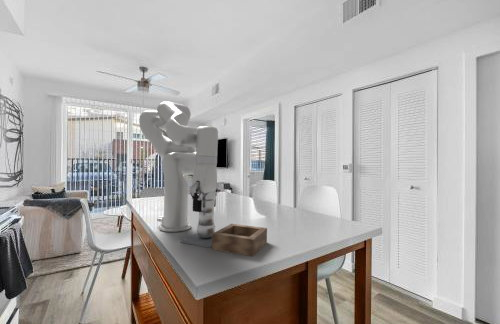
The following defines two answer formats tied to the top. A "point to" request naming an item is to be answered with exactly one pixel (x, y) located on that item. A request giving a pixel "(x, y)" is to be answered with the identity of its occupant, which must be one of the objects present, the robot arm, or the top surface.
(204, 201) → the plastic bottle
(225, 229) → the square wooden tray
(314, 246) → the top surface
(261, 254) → the top surface
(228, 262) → the top surface
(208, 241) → the mat
